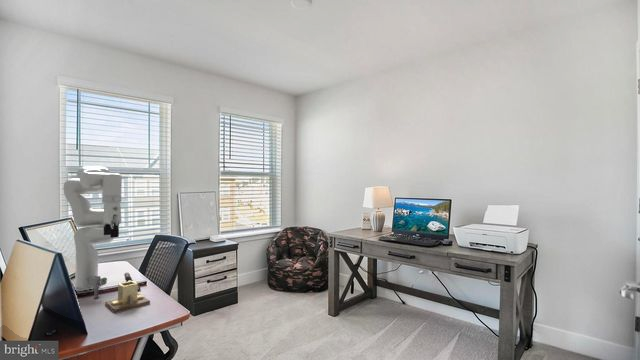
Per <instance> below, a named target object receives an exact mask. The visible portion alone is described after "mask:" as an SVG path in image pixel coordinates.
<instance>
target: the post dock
mask: <svg viewBox="0 0 640 360" xmlns="http://www.w3.org/2000/svg"><path fill="white" fill-rule="evenodd" d="M138 295H141V294H140V293H138ZM133 298H134V297H130V303H128V304H124V305H122V304H119V305H115V306H113V305H112V304H111V302H113V301H117V300H118V298H116V299H112V300H107V301H105V304H104V305H105V306H106V307H107V308H108V309H109V310H110V311H112V313H114V314H118V313H121V312H125V311H129V310H132V309H136V308H140V307H143V306H147V305H150V304H151V300H150V299H148V298H147V297H145V296H143V299H139V300H137V301H136V302H133Z"/></svg>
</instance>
